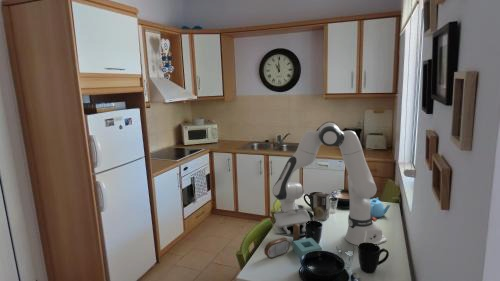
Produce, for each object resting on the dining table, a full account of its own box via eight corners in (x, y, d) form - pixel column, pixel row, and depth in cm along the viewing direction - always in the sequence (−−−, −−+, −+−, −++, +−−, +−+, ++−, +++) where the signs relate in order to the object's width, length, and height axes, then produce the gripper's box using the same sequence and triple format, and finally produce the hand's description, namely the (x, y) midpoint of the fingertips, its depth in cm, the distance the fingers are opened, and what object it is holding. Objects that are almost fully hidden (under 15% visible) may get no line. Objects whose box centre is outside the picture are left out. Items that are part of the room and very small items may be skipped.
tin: (287, 249, 170) (287, 235, 168) (290, 252, 167) (290, 237, 166) (263, 258, 162) (263, 243, 161) (267, 260, 160) (267, 245, 158)
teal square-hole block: (311, 246, 173) (311, 237, 172) (321, 256, 162) (321, 247, 161) (293, 249, 170) (293, 241, 169) (302, 260, 159) (302, 251, 158)
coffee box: (329, 217, 208) (330, 193, 205) (326, 220, 203) (326, 197, 200) (316, 214, 213) (316, 191, 210) (312, 217, 208) (313, 194, 205)
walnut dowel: (297, 239, 180) (297, 223, 178) (300, 242, 177) (300, 225, 175) (292, 240, 179) (292, 224, 177) (294, 243, 176) (294, 226, 174)
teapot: (357, 210, 218) (358, 195, 216) (377, 208, 221) (377, 193, 219) (369, 219, 203) (370, 204, 201) (390, 217, 206) (391, 202, 204)
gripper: (274, 210, 178) (281, 234, 171) (306, 205, 184) (314, 228, 177) (271, 214, 183) (278, 237, 176) (303, 209, 189) (310, 231, 182)
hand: (296, 232), depth 177 cm, fingers open, 8 cm apart
